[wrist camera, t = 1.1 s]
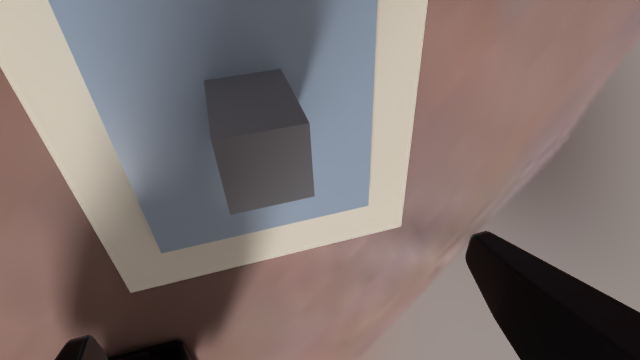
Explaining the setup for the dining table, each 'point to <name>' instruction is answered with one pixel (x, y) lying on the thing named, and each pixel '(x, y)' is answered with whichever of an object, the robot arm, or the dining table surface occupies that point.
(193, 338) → the dining table surface
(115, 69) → the lid
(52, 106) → the mat
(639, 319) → the robot arm
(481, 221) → the dining table surface
